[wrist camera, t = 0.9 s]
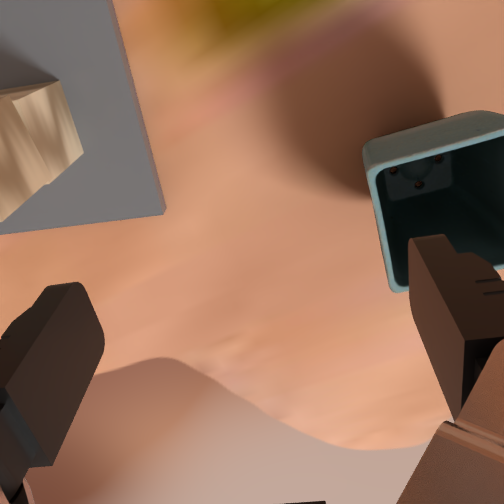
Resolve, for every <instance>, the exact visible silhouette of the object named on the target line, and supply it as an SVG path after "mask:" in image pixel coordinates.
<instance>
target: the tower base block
mask: <svg viewBox="0 0 504 504" xmlns="http://www.w3.org/2000/svg"><path fill="white" fill-rule="evenodd" d="M7 95H9V96H10V98H11V100H12V102H13V104H14V106H15V108H16V110H17V111H18V113H19V115H20V117H21V119H22V121H23V123H24V125H25V127H26V129H27V130H28V132H29V134H30V136H31V138H32V140H33V142H34V144H35V146H36V148H37V149H38V151H39V153H40V155H41V157H42V159H43V161H44V163H45V165H46V166H47V168H48V170H49V172H50V174H51V176H52V178H51V179H50V180H49V181H48V182H47V183H46V184H50V183H51V182H52V181H53V180H55V179H56V178H57V177H58V176H59V175H60V174H61V173H62V172H63V171H64V170H66V169H67V168H68V167H69V166H70V165H71V164H72V163H73V162H74V161H76V160H77V159H78V158H79V157H80V156H81V155H82V154H83V153H84V152H83V149H82V146H81V143H80V140H79V137H78V134H77V131H76V128H75V125H74V121H73V118H72V115H71V112H70V109H69V106H68V103H67V100H66V97H65V94H64V91H63V88H62V85H61V82H60V80H59V81H52V82H46V83H40V84H34V85H27V86H21V87H15V88H8V89H2V90H0V98H1V97H4V96H7ZM46 184H45V185H46Z"/></svg>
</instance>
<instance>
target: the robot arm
mask: <svg viewBox="0 0 504 504" xmlns="http://www.w3.org/2000/svg"><path fill="white" fill-rule="evenodd" d="M408 264H409V299H410V306H411V311H412V315H413V319H414V321H415V324H416V326H417V329H418V331H419V334H420V336H421V339H422V341H423V344H424V346H425V349H426V351H427V354H428V356H429V359H430V361H431V364H432V366H433V369H434V371H435V374H436V376H437V379H438V381H439V384H440V386H441V389H442V391H443V394H444V396H445V399H446V401H447V404H448V406H449V409H450V411H451V414H452V416H453V419H454V421H455V422H454V423H451V422H449V421H444V422H443V423H442V424H441V425H440V426H439V428H438V429H437V431H436V433H435V434H434V436H433V438H432V440H431V442H430V444H429V445H428V447H427V449H426V451H425V452H424V454H423V456H422V458H421V460H420V462H419V464H418V465H417V467H416V469H415V471H414V473H413V474H412V476H411V478H410V480H409V481H408V483H407V485H406V487H405V489H404V490H403V493H402V494H401V496H400V498H399V500H398V502H397V503H396V504H504V281H502V280H501V277H500V275H499V274H498V273H497V271H496V270H495V269H494V267H493V266H492V265H491V263H489V262H488V261H486V260H484V259H482V258H481V257H479V256H477V255H476V254H474V253H472V252H469V253H461V254H457V253H456V251H455V250H454V248H453V246H452V245H451V243H450V242H449V240H448V239H447V237H446V236H445V235H444V234H439V235H431V236H424V237H416V238H410V239H409V243H408ZM104 345H105V339H104V333H103V329H102V327H101V325H100V322H99V320H98V318H97V315H96V313H95V311H94V308H93V306H92V304H91V301H90V299H89V297H88V294H87V292H86V290H85V288H84V286H83V285H82V284H81V283H79V282H72V283H65V284H57V285H50V286H47V287H46V288H45V289H44V290H43V292H42V293H41V295H40V296H39V297H38V299H37V300H36V301H35V303H34V304H33V305H32V307H31V308H29V309H28V310H26V311H25V312H24V313H23V314H21V315H20V316H19V317H18V318H16V319H15V320H14V321H13V322H12V323H11V324H10V326H9V327H8V328H7V330H6V331H5V332H4V333H3V335H2V336H1V339H0V504H35V503H34V500H33V496H32V493H31V490H30V487H29V484H28V483H27V481H26V480H25V478H24V477H25V475H26V473H27V471H28V469H29V468H32V467H44V466H52V465H53V463H54V461H55V459H56V457H57V454H58V452H59V450H60V448H61V445H62V443H63V441H64V439H65V437H66V434H67V432H68V430H69V428H70V425H71V423H72V421H73V419H74V416H75V414H76V412H77V410H78V408H79V405H80V403H81V401H82V399H83V397H84V395H85V392H86V390H87V388H88V386H89V384H90V381H91V379H92V377H93V375H94V372H95V370H96V368H97V366H98V364H99V361H100V359H101V357H102V355H103V352H104ZM286 504H326V502H325V501H316V502H301V503H286Z"/></svg>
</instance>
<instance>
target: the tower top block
mask: <svg viewBox="0 0 504 504" xmlns="http://www.w3.org/2000/svg"><path fill="white" fill-rule="evenodd" d="M51 178H52V176H51V174H50V172H49V170H48V168H47V166H46V165H45V163H44V161H43V159H42V157H41V155H40V153H39V151H38V149H37V148H36V146H35V144H34V142H33V140H32V138H31V136H30V134H29V132H28V130H27V129H26V127H25V125H24V123H23V121H22V119H21V117H20V115H19V113H18V111H17V110H16V108H15V106H14V104H13V102H12V100H11V98H10V96H9V95H7V96H4V97H1V98H0V222H3V221H4V220H5V219H6V218H7V217H8V216H10V215H11V214H12V213H13V212H14V211H15V210H16V209H17V208H19V207H20V206H21V205H22V204H23V203H24V202H25V201H27V200H28V199H29V198H30V197H31V196H32V195H33V194H34V193H36V192H37V191H38V190H39V189H40V188H41V187H42V186H43V185H45V184H46V183H47V182H48V181H49V180H50V179H51Z"/></svg>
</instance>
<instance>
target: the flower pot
mask: <svg viewBox="0 0 504 504" xmlns="http://www.w3.org/2000/svg"><path fill="white" fill-rule="evenodd" d="M437 155H441V156H442V158H441V160H440V161H435V157H436V156H437ZM362 158H363V163H364V168H365V172H366V177H367V182H368V186H369V190H370V194H371V198H372V203H373V208H374V213H375V218H376V223H377V228H378V234H379V239H380V245H381V251H382V255H383V259H384V264H385V269H386V274H387V278H388V284H389V287H390V289H391V290H392V292H394V293H401V292H406V291H409V264H408V243H409V239H410V238H416V237H424V236H431V235H439V234H444V235H445V236H446V237H447V239H448V240H449V242H450V243H451V245H452V246H453V248H454V250H455V251H456V253H457V254H461V253H469V252H472V253H474V254H476V255H477V256H479V257H481V258H482V259H484V260H486V261H488V262H489V263H491V265H492V266H493V267H494V269H495V270H500V269H504V115H503V114H499V113H495V112H490V111H481V110H480V111H470V112H465V113H461V114H458V115H454V116H451V117H448V118H444V119H441V120H437V121H434V122H430V123H427V124H423V125H420V126H416V127H413V128H410V129H406V130H402V131H399V132H396V133H392V134H389V135H385V136H381V137H378V138H374V139H371V140H369V141H367V142H366V143H365V144H364V146H363V149H362ZM392 167H396V168H397V171H396V173H394V174H392V173H390V169H391V168H392ZM418 181H421V182H422V185H421V186H420V187H416V186H415V183H416V182H418Z"/></svg>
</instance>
